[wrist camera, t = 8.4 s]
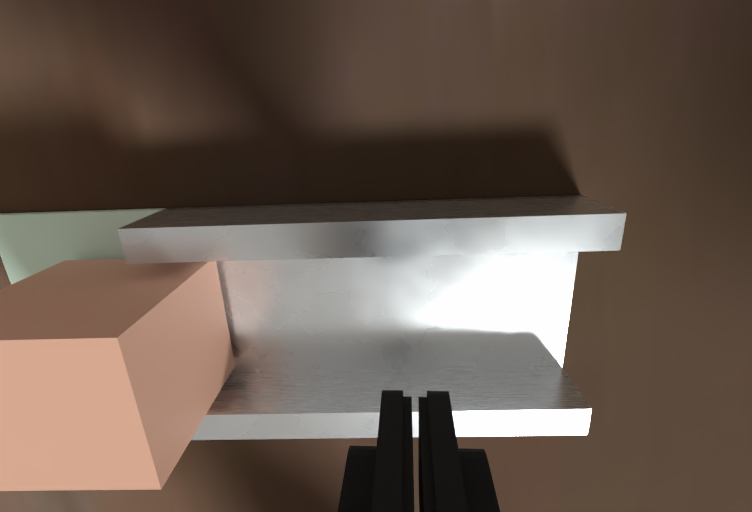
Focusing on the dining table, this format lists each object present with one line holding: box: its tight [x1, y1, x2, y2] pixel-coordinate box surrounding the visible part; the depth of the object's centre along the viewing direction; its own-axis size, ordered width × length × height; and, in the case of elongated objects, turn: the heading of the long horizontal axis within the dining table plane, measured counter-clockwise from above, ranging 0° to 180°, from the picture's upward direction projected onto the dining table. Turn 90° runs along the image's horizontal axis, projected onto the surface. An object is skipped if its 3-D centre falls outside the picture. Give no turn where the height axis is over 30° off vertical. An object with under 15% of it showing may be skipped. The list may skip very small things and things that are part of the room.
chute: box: [117, 195, 626, 440], centre depth 15 cm, size 16×9×3 cm, turn 92°
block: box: [0, 259, 235, 491], centre depth 14 cm, size 6×5×6 cm
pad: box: [0, 208, 165, 285], centre depth 17 cm, size 7×9×1 cm
